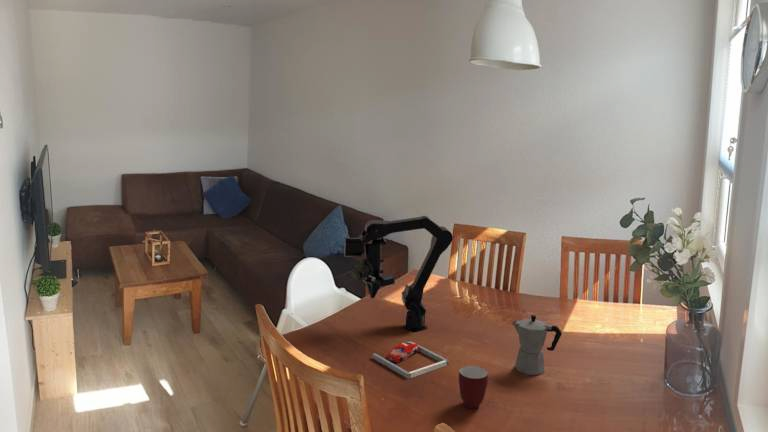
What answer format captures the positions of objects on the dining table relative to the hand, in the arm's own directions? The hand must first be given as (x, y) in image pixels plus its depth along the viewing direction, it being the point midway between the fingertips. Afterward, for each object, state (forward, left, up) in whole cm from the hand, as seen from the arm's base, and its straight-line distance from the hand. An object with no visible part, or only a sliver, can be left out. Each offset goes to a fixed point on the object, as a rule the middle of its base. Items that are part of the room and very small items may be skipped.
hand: (372, 297), depth 228 cm
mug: (+9, +60, -12) cm, 62 cm away
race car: (+5, +24, -12) cm, 28 cm away
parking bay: (+6, +29, -12) cm, 32 cm away
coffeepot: (-22, +56, -12) cm, 61 cm away
